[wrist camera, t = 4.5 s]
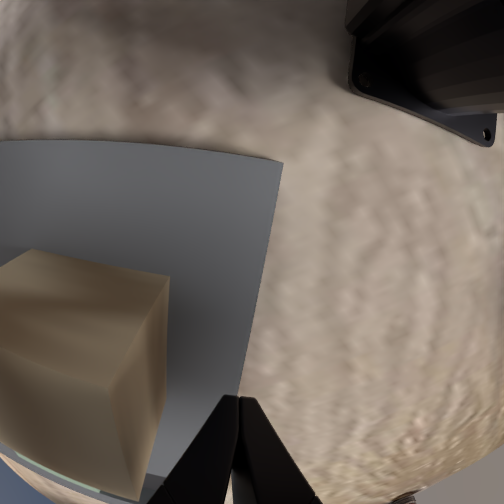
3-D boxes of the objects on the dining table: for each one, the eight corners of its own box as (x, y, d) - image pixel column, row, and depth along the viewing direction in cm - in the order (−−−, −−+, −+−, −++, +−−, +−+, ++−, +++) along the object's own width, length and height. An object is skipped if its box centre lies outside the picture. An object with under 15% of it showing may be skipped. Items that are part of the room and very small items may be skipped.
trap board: (276, 161, 9) (283, 163, 7) (209, 505, 17) (207, 525, 15) (-88, 151, 8) (-109, 156, 6) (-21, 419, 15) (-30, 431, 13)
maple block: (169, 276, 8) (107, 388, 4) (166, 398, 10) (138, 501, 5) (31, 248, 8) (-64, 310, 4) (52, 365, 9) (-2, 441, 5)
